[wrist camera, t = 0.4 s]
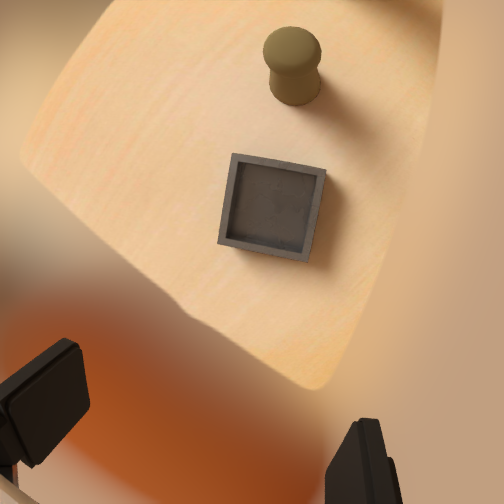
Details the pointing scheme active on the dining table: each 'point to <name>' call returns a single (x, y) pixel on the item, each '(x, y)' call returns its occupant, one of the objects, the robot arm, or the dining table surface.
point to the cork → (293, 65)
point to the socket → (271, 206)
